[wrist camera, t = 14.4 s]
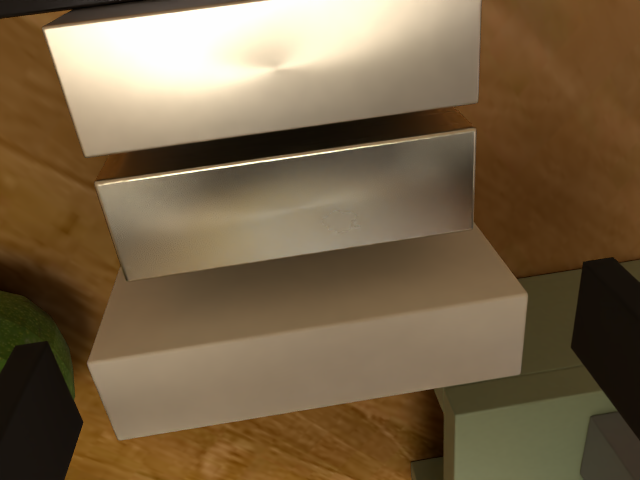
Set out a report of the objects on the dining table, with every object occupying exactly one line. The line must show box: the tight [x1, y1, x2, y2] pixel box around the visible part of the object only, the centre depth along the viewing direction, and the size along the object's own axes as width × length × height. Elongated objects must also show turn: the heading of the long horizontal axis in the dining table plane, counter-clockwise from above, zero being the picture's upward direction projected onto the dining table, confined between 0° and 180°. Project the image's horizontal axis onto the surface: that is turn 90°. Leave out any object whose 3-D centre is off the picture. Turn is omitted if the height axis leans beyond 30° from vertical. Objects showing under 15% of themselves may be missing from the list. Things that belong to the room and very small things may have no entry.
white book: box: [87, 223, 528, 440], centre depth 19 cm, size 10×2×12 cm, turn 96°
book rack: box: [0, 0, 482, 282], centre depth 19 cm, size 12×16×12 cm
